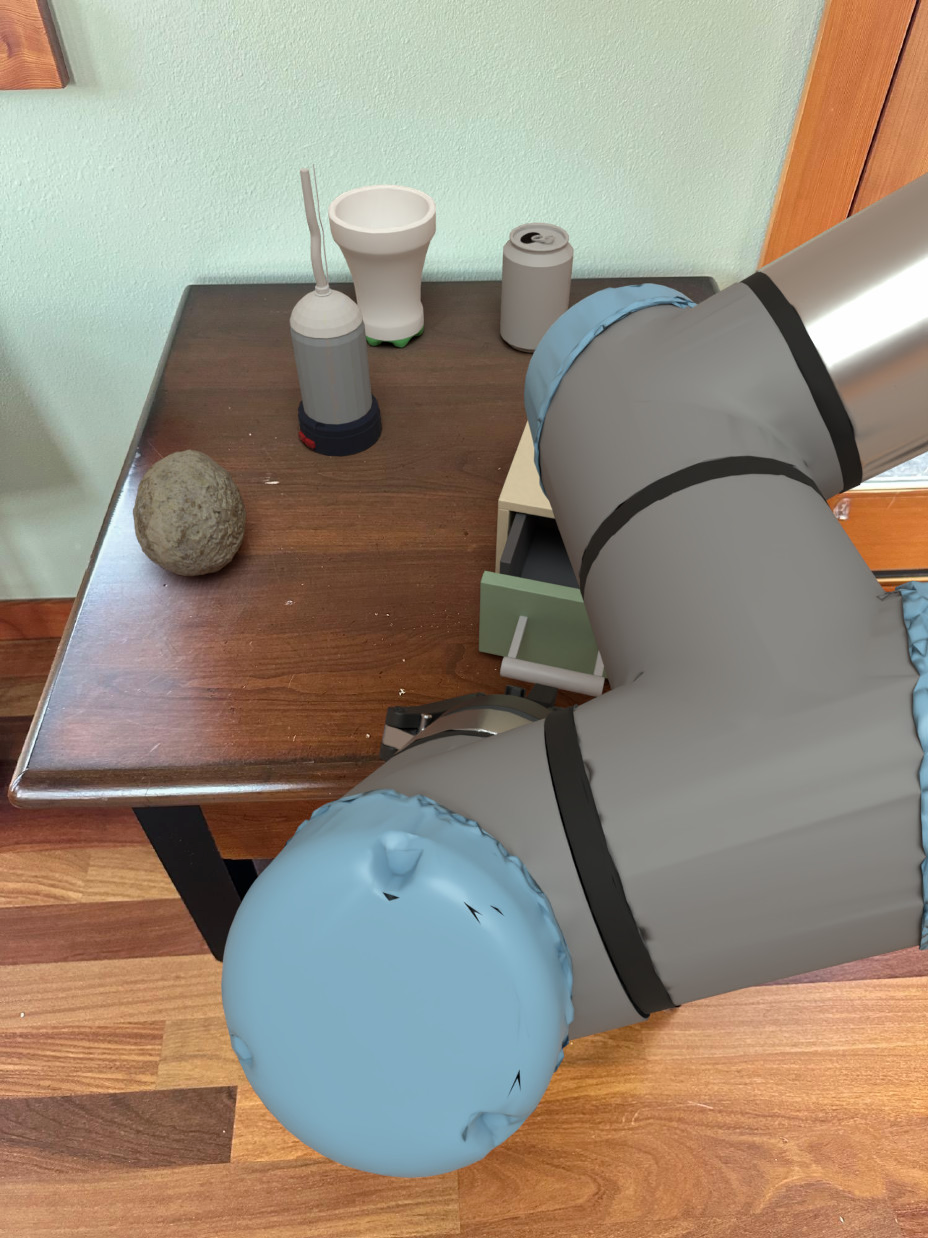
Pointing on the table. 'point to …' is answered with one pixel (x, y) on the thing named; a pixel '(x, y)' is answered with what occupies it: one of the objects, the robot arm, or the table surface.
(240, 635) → the table surface
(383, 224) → the cup
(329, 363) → the humidifier
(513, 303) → the can
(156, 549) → the decorative stone
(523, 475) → the cabinet
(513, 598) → the drawer
